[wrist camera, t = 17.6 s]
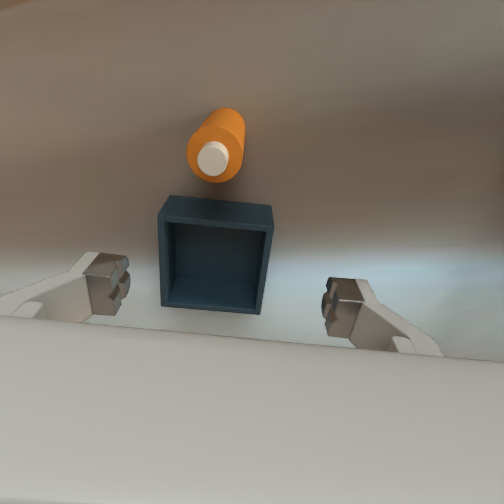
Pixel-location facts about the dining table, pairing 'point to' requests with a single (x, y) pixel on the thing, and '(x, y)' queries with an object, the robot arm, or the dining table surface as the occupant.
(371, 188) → the dining table surface
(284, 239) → the dining table surface
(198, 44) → the dining table surface
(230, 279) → the dark open tray box
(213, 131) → the orange capped bottle
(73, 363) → the robot arm
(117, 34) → the dining table surface
